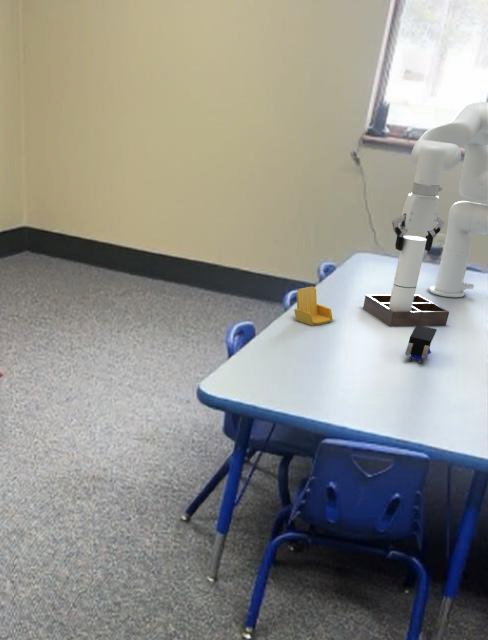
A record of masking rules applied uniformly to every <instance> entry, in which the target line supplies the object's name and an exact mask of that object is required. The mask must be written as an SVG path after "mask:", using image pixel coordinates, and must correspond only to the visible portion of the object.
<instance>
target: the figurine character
mask: <svg viewBox="0 0 488 640" xmlns="http://www.w3.org/2000/svg"><path fill="white" fill-rule="evenodd" d="M437 331H438V330H437V328H433V327H430V326H419V325H416V326H414V329H413V331H412V332H411V334H410V336H409V340H408V343H407V346H406V349H405V355H406V356H409V358H408V361H409V362H412V361H413V359H414V360H419V361H418V364H421V363H422V361H423V359H427V358H428V355H430V354H432V351H431V344H432V341H433V340H434V338H435V336H436V333H437Z"/></svg>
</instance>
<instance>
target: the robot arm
mask: <svg viewBox="0 0 488 640" xmlns="http://www.w3.org/2000/svg"><path fill="white" fill-rule="evenodd" d="M461 148H463V149H464V158H463V162H462V167H461V173H460V176H459V177H460V178H459V182H458V183H459V184H458V194H459V195H460V196H461V197H463V198H467V199H471V200H477V201H484V202H487V203H488V101H478V100H477V101H475V100H474V101H469V102H467V103H466V104H464V105H463V106H462V107H461V109H460V110H459V111H458V112H457V113H456V115H455V116H454V117H453V118H452V120H451V121H449V122H445V123H443V124H440V125H436V126H434V127H431V128H430V129H427V130H426V131H424V133H422V135H421V136H420V137H419V138H418V140H416V142H415V144H414V145H413V148H412V150H411V154H410V160H411V163H412V164H413V166H415V167H416V170H415V174H414V178H413V184H412V189H411V193H408V194H407V196H406V199H405V203H404V205H403V208H402V212H401V215H400V216H398V217H397V218H394V219H393V220H392V221H391V225H392V229H393V232H394V233H395V235H396V240H395V244H394V247H395V249H396V250H397V251H399V252H400V251H402V248H403V243H404V237H403V236H406V234H407V233H408V232H426V233H427V235H425V238H426V239H427V241H426V245H425V250H424V251H427V252H430V251H431V248H432V246H433V242H434V238H436V237H437V235H438V234H439V233H440V232H441V229H442V228H443V227H444V225H445V221H444V220H442V219H441V218H439V217H438V213H439V212H438V211H439V201H440V200H439V195H438V194H439V192H442V190H443V187H442V186H441V185H440V184H441V181H442V180H441V179H442V175H443V172H451V171H454V169H456V167H458V166H459V164H460V162H461V159H462V149H461ZM470 233H473V234H480V235H486V236H488V204H486V203H479V202H474V201H468V200H460V201H457V202H454V203H453V204H452V205H451V206H450V208H449V211H448V216H447V229H446V234H445V235H446V236H445V240H444V244H443V249H442V254H441V257H440V262H439V266H438V270H437V275H436V279H435V283H434V285H433V286H430V287H429V292H430V293H431V294H434V295H436V296H441V297H444V298H445V297H447V298H463V297H464V296H465V294H466V292H465V290H473V289H474V286H475V285H474V283H467V282H466V281H464V280H465V276H466V271H467V268H468V264H469V259H470V256H471V251H472V248H473V243H472V239H471V236H470Z"/></svg>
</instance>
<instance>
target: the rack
mask: <svg viewBox="0 0 488 640" xmlns="http://www.w3.org/2000/svg"><path fill="white" fill-rule="evenodd" d="M390 299H391V294H365V295H364V301H363V306H362V309H363V310H365V311H366V312H367V313H369V314H371V315H372V316H374V317H375V318H377V319H378V320H380V321H382V322H383V323H384V324H386V325H387V326H389V327H416V325H419V326H424V327H446V326H447V323H448V319H449V315H450V311H449V310H447V309H445V308H444V307H442V306H440V305H438V304H436V303H435V302H433V301H431V300H429V299H427V298H426V297H424V296H422V295H420V294H415V295H414V300H413V304H412V309H411V311H393V310H391V309H389V304H390Z"/></svg>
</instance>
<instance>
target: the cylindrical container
mask: <svg viewBox="0 0 488 640" xmlns="http://www.w3.org/2000/svg"><path fill="white" fill-rule="evenodd" d="M403 237H404V243H403V248H402V251H399V256H398V260H397V265H396V270H395V275H394V279H393V284H392V289H391V294H390V295H391V299H390V304H389V309H391V310H393V311H411V309H412V304H413V300H414V295H416V290H417V287H418V282H419V281H418V280H419V276H420V271H421V268H422V264H423V258H424V253H425V251H426V250H425V245H426V241H427V239H426V237H424V236H423V237H422V236H419V235H404V236H403Z"/></svg>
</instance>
